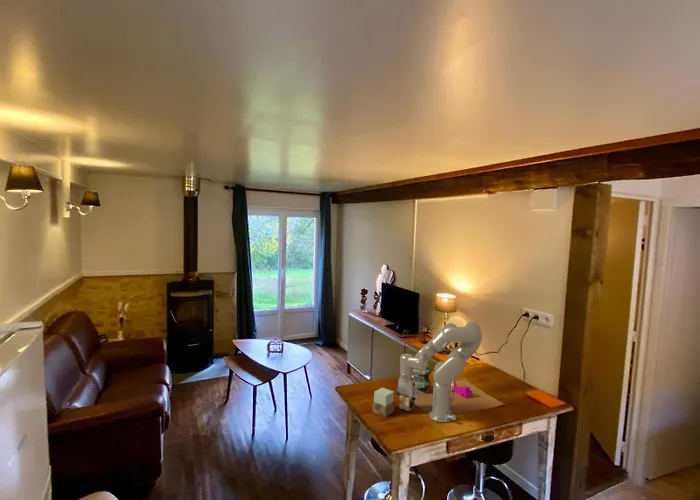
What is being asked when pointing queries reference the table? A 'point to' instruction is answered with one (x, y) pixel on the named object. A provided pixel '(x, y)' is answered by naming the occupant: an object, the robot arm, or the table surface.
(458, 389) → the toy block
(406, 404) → the oak block
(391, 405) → the walnut base block
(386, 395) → the sage top block
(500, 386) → the table surface
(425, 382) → the apothecary jar
